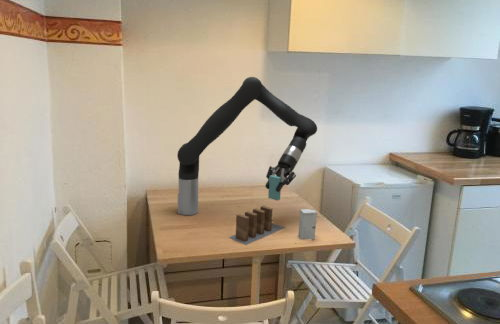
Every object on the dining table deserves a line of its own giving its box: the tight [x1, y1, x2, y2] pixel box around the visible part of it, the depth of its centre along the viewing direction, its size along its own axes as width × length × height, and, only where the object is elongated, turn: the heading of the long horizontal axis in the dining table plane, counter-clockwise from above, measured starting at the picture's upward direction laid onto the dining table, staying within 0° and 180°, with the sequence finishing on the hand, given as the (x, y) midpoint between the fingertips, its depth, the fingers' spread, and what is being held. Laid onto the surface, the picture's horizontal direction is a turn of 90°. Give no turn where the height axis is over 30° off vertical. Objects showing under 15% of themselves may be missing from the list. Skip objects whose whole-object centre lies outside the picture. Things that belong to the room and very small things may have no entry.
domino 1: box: [235, 213, 249, 242], centre depth 172 cm, size 2×5×10 cm, turn 48°
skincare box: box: [297, 208, 318, 241], centre depth 176 cm, size 6×4×12 cm
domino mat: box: [228, 222, 286, 246], centre depth 180 cm, size 26×10×1 cm, turn 138°
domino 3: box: [252, 207, 265, 235], centre depth 179 cm, size 2×5×10 cm, turn 48°
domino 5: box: [268, 175, 282, 201], centre depth 183 cm, size 2×5×10 cm, turn 48°
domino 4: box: [259, 205, 273, 232], centre depth 183 cm, size 2×5×10 cm, turn 48°
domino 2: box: [244, 210, 257, 238], centre depth 175 cm, size 2×5×10 cm, turn 48°
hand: (272, 189), depth 182 cm, fingers closed on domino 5, 5 cm apart
